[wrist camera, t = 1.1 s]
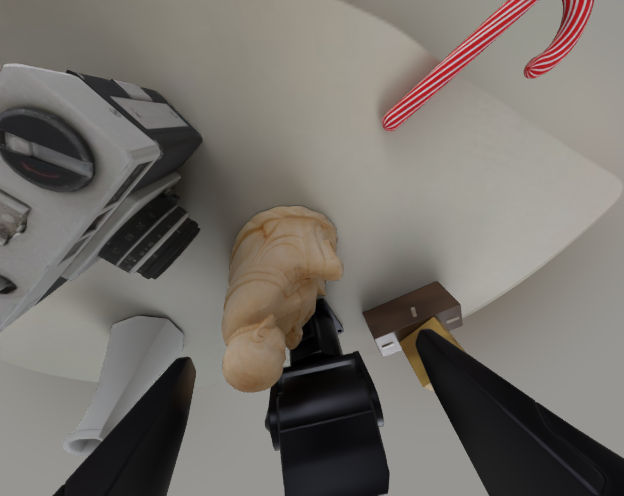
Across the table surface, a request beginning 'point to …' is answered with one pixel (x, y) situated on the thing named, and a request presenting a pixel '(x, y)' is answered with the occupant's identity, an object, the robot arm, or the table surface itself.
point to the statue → (274, 291)
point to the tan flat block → (413, 355)
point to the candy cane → (571, 28)
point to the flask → (125, 376)
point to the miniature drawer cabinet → (411, 316)
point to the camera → (85, 181)
